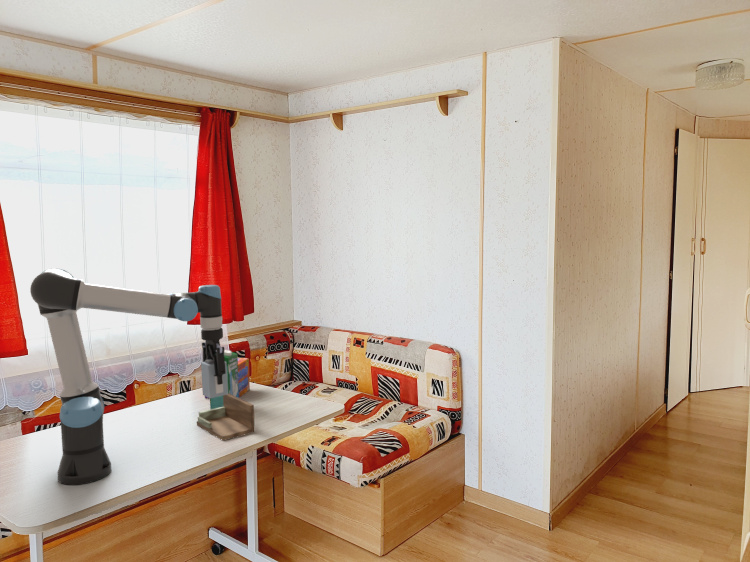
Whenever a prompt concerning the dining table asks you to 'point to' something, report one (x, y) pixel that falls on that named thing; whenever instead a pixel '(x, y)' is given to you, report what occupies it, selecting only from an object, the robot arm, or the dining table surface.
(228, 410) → the brown wooden l-shaped piece
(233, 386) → the milk carton
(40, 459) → the dining table surface
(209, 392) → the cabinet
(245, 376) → the game box
